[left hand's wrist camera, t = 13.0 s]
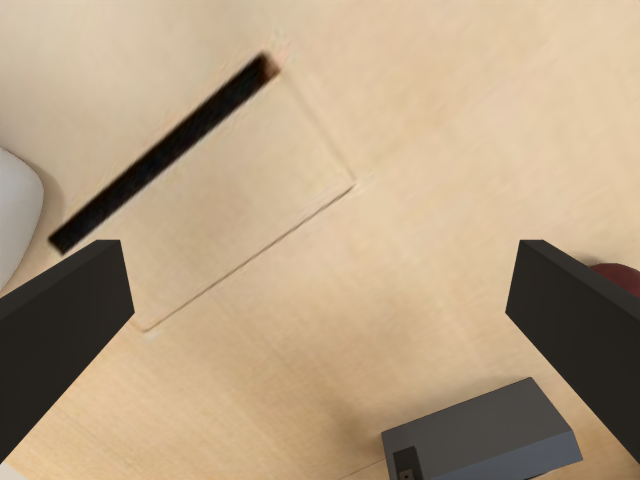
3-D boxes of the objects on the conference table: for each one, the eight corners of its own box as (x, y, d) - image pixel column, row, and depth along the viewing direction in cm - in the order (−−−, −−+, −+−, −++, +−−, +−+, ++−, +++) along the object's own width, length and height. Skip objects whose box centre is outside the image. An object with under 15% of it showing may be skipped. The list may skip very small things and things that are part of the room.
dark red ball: (572, 321, 45) (616, 359, 38) (549, 273, 43) (591, 304, 36) (632, 291, 43) (689, 325, 37) (611, 240, 41) (667, 267, 34)
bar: (531, 376, 48) (572, 430, 40) (541, 403, 49) (583, 460, 42) (381, 432, 51) (392, 492, 43) (395, 456, 53) (408, 517, 45)
